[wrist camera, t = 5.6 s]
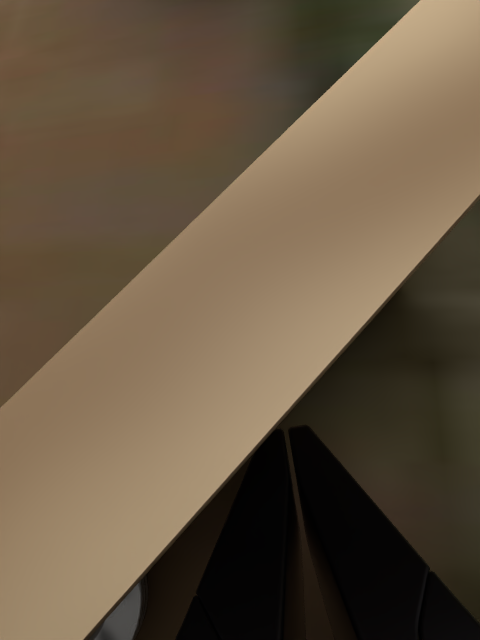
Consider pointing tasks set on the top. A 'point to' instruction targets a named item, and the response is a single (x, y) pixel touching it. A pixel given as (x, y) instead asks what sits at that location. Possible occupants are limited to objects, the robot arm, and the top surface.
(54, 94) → the top surface
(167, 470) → the gate
